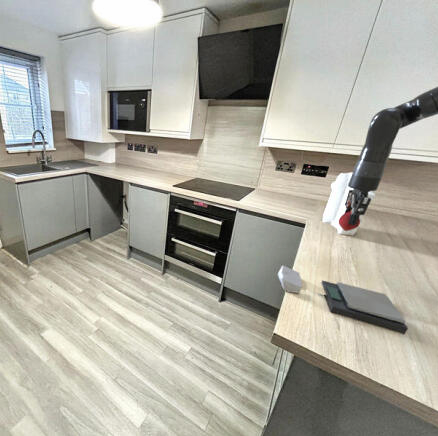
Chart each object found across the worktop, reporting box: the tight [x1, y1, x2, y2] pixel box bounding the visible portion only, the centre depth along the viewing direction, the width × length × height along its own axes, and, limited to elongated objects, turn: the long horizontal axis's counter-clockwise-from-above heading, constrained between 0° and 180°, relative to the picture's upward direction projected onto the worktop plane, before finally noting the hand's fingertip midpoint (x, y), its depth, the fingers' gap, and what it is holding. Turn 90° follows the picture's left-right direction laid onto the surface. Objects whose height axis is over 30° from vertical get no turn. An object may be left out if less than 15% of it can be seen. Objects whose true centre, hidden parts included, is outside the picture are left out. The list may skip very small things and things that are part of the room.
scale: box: [321, 280, 409, 335], centre depth 69 cm, size 16×14×2 cm
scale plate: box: [335, 281, 406, 324], centre depth 68 cm, size 12×12×1 cm
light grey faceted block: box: [277, 265, 303, 294], centre depth 77 cm, size 10×6×6 cm, turn 149°
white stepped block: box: [322, 172, 376, 236], centre depth 125 cm, size 27×11×30 cm, turn 168°
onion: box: [339, 210, 361, 231], centre depth 84 cm, size 6×6×8 cm
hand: (348, 221), depth 84 cm, fingers closed on onion, 6 cm apart
